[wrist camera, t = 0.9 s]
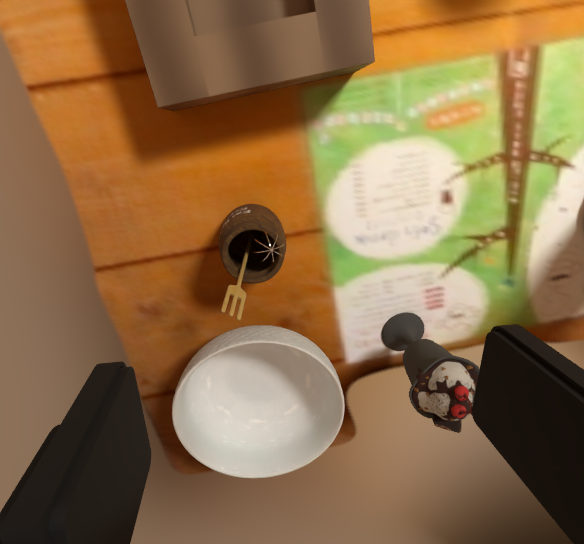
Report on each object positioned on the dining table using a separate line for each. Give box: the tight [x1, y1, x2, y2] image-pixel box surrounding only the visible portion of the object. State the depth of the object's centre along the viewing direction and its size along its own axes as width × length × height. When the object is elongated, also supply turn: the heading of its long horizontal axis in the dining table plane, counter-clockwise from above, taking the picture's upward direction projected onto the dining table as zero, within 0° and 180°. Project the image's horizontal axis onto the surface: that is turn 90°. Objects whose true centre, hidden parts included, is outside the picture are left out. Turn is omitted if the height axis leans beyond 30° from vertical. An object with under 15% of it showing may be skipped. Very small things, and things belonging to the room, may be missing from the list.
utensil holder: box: [219, 204, 286, 320], centre depth 30 cm, size 6×6×12 cm
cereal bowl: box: [172, 325, 345, 478], centre depth 39 cm, size 17×17×7 cm
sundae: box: [382, 313, 480, 433], centre depth 35 cm, size 7×7×15 cm
